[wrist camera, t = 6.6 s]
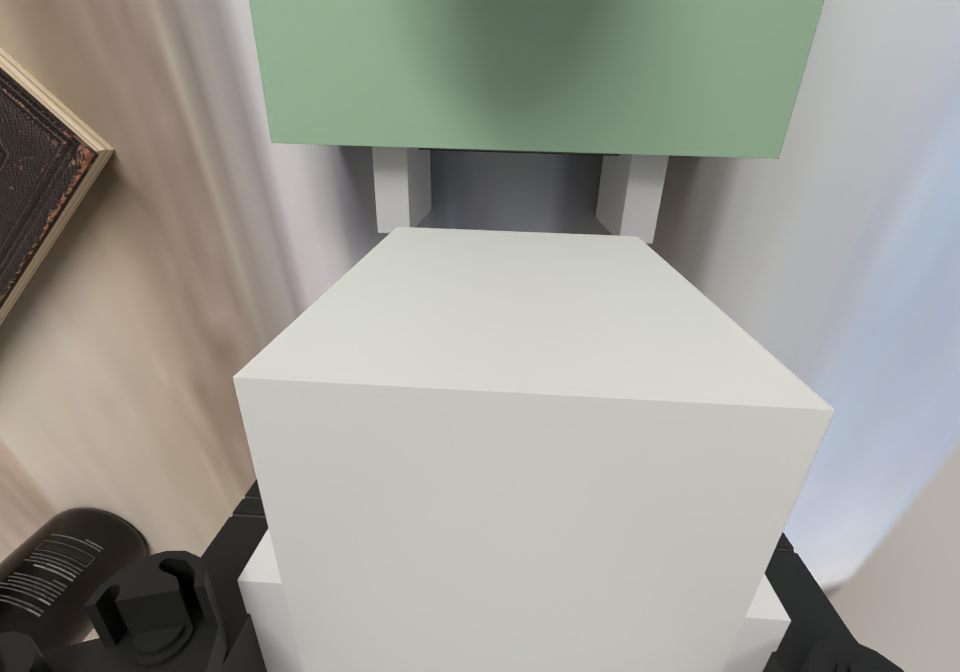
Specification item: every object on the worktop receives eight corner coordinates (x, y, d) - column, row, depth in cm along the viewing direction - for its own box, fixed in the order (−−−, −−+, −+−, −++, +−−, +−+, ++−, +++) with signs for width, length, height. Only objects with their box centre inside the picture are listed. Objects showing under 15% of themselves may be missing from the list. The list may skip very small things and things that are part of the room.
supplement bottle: (35, 522, 32) (-206, 725, 21) (97, 490, 30) (-132, 693, 20) (109, 581, 35) (-73, 791, 24) (171, 554, 33) (4, 767, 22)
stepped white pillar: (574, 670, 18) (610, 977, 11) (406, 656, 18) (350, 948, 12) (659, 237, 10) (892, 413, 4) (376, 225, 11) (181, 375, 4)
